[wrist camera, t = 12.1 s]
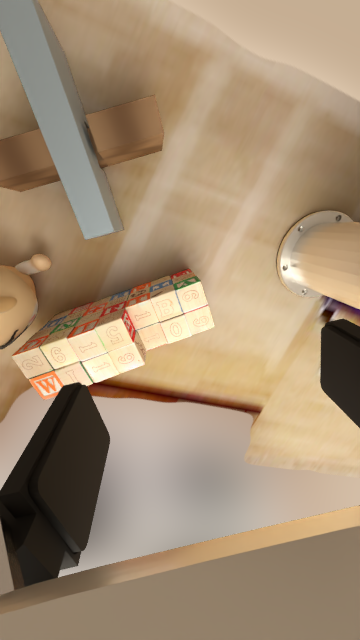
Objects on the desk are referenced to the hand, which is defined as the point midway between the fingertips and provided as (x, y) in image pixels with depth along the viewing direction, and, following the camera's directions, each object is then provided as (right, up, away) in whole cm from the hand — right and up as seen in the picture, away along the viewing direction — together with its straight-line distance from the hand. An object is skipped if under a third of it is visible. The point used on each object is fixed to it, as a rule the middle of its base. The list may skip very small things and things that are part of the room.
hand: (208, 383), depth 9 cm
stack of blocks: (-9, +4, +27) cm, 29 cm away
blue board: (-12, +22, +19) cm, 32 cm away
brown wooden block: (-12, +22, +19) cm, 32 cm away
